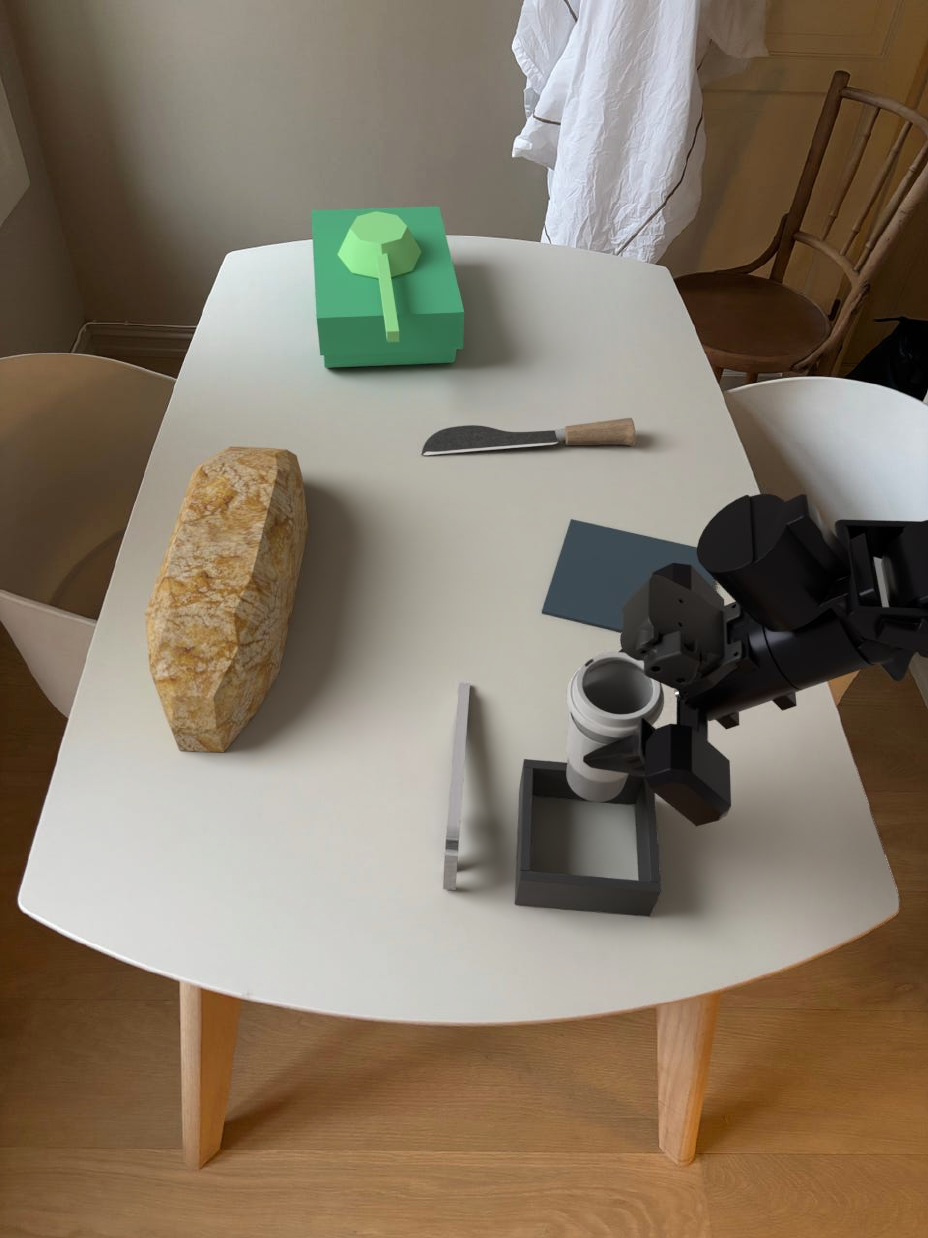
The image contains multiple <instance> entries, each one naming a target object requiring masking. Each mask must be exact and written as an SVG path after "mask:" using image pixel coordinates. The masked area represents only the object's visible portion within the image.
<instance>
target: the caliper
mask: <svg viewBox="0 0 928 1238" xmlns="http://www.w3.org/2000/svg"><path fill="white" fill-rule="evenodd" d="M470 685H471V683H469V682H459V684H458V694H457V705H456V717H455V727H454V728H455V729H454V740H453V741H454V742H453V754H452V765H451V777H450V788H449V799H448V811H447V825H446V832H445V833H446V835H445V845H444V846H445V847H444V859H443V860H444V861H443V862H444V863H443V881H442V889H443V890H450V891H451V890H452V891H456V890H457V889H456V887H457V873H458V859H459V846H460V845H459V844H460V831H461V816H462V801H463V789H464V788H463V786H464V776H465V775H464V774H465V761H466V760H465V758H466V747H467V731H468V717H469V704H470V703H469V702H470V691H471V689H470V688H471V686H470Z"/></svg>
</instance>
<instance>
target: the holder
mask: <svg viewBox="0 0 928 1238" xmlns="http://www.w3.org/2000/svg"><path fill="white" fill-rule="evenodd" d="M566 771H567V761H566V762H564V761H555V760H554V761H553V760H542V759H528V758H524V759H523V761H522V768H521V776H520V781H519V788H518V810H517V811H518V813H517V832H516V833H517V834H516V836H517V837H516V856H515V857H516V859H515V860H516V861H515V884H514V905H515V906H524V907H534V908H547V909H556V910H557V909H558V910H570V911H579V912H580V911H581V912H591V913H604V914H613V915H614V914H615V915H625V916H637V917H651V916H652V914H653V912H654V909H655V908H656V906H657V905H656V904H657V903H658V901H659V898H660V895H661V893H662V883H661V882H662V879H661V864H660V863H661V862H660V851H659V850H660V849H659V848H660V847H659V836H658V820H657V806H656V805H657V804H656V794H655V793H654V792H653V791H652V790H651V789H650V788H649V786H648V783H647V781H646V779H645V776H640V775H634V774H629V775H628V777H627V780H626V782H625V784H624V787H623V789H622V791H621V792H620V793H619V794H618V795H617V796H616V797H615V798H613V799H611V800H608V801H604V802H603V803H605V804H617V805H618V804H619V805H628V806H629V805H630V806H634V823H635V839H636V840H635V841H636V854H637V855H636V859H637V860H636V861H637V877H638V878H637V879H625V878H624V879H623V878H615V877H614V878H613V877H603V876H602V877H601V876H592V875H591V876H590V875H580V874H579V875H577V874H566V873H556V872H544V871H531V861H532V860H531V859H532V857H531V855H532V830H533V829H532V827H533V825H532V824H533V823H532V822H533V797H534V798H535V797H537V798H549V799H559V800H560V799H561V800H570V801H583V802H590V801H589V800H586V799H584V798H582V797H580V796H579V795H577V794H576V793H575V792H574V791H573V790H572V789H571V787H570V786H569V783H568V781H567V776H566ZM592 802H594V801H592Z"/></svg>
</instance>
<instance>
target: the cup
mask: <svg viewBox="0 0 928 1238" xmlns="http://www.w3.org/2000/svg"><path fill="white" fill-rule="evenodd" d="M566 702H567V707H568V710H569V717H568V726H567V727H568V729H567V740H566V755H567V761H566V763H567V771H566V776H567V781H568V783H569V786H570V787H571V789H572V790H573V791H574V792H575V793H576V794H577V795H579V796H580V797H582V798H584V799H586V800H589V801H588V802H593V801H594V802H595V803H596V802H597V803H604V801H608V800H611V799H613V798H615V797H616V796H617V795H618V794H619V793H620V792H621V791H622V789H623V787H624V784H625V782H626V780H627V777H628V775H629V774H628V773H621V772H615V771H608V770H601V769H595V768H591V767H589V766H588V765H586V764H585V763H584V762H583V756H585V755H586V754H588V753H590V752H592V751H594V750H596V749H598V748H600V747H603V746H605V745H608V744H611V743H613V742H616V741H618V740H621V739H623V738H626V737H629V736H631V735H634V734H635V733H636V731H637V728H638V725H639V722H640V719H641V718H644V719H645V720H646V721H648V722H649V723H650V724H651V725H652V726H654V725H655V723H657V721H658V720H659V719H660V718H661V715H662V713H663V710H664V707H665V692H664V688H663V685H662V683H660V682H658V681H656V680H653V679H651V678H649V677H647V676H646V675H645V674H644V662H643V661H637V660H635V659H633V658H631V657H630V656H628V655H627V654H626V653H622V652H619V651H610V652H607V651H606V652H601V653H598V654H596V655H594V656H592V657H590V658H589V659H588V660H586V661H585V662H584V663H583V664H582V665H581V666H580V667H579V668H578V669H577V670H576V671H575V673H573V675H572V677H571V678H570V680H569V682H568V685H567V689H566Z"/></svg>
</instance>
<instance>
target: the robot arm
mask: <svg viewBox="0 0 928 1238" xmlns="http://www.w3.org/2000/svg"><path fill="white" fill-rule="evenodd" d="M833 526H834V532H833V531H832V530H831V528H830V527H829V526H828V525H827V523H826V522H825V521H824V520H823V518H822V517H821V515H820V511H819V510H818V507H817V506H816V504H815V503H814V502H813V500H812V499H811V498H810V497H809V496H808V494H804V493H800V494H798V495H796V496H794V497H792V498H790V499H788V500H786V501H785V500H784V499H783V498H781V497H780V496H778V495H775V494H771V493H759V494H754V495H749V494H745V495H743V496H740V497H738V498H736V499H734V500H733V501H732V502H729V503H728V504H727V505H725V506H724V507H723V508H722V509H721V510H719V511H717V513H716V514H715V515H714V516H713V517H712V518H711V519H710V520H709V521H708V523H707V525H705V527H704V528H703V530H702V532H701V534H700V536H699V538H698V542H697V546H696V547H697V558H698V561H699V563H700V564H701V565H702V566H703V567H704V569H705V570H706V571H707V572H708V573H709V574H710V575H711V576H712V577H713V578H714V581H715V582H717V584H719V586H720V587H721V588H722V589H723V590H724V591H725V592H726V593H727V594H728V596H730V597H731V598H732V599H733V600H734V601H733V602H731V603H728V604H726V605H725V599H724V597H723V596H722V595H721V594H720V593H719V592H718V591H717V590H716V589H715V587H714V586H713V587H712V586H711V585H710V584H709V583H708V582H707V581H706V580H705V579H704V578H703V577H702V576H701V575H700V574H699V573H698V571H697V570H696V569H695V568H694V567H693V566H692V565H688V564H680V563H671V564H669V565H667V566H665V567H663V568H661V569H659V570H657V571H655V572H652V576H651V577H650V578H649V579H648V580H647V581H646V582H645V583H644V584H643V585H642V586H641V587H640V588H639V589H638V590H637V591H636V592H635V593H634V594H633V595H632V596H631V597H630V598H629V599H628V600H627V601H626V602H625V603H624V604H623V606H622V613H623V629H622V632H620V633H621V634H620V637H619V644H620V647H621V649H620V650H619V651H618V652H622V653H626V654H627V655H628V656H630V657H631V658H633V659H635V660H637V661H643V662H644V674H645V675H646V676H647V677H649V678H651V679H653V680H656V681H658V682H660V683H661V685H662V684H663V685H665V686H666V687H669V688H671V689H674V696H675V698H676V722H675V723H669V724H668V723H667V724H665V725H662V726H660V727H657V728H656V727H654V725H651V724H650V723H649V722H648V721H646V720H645V719H644V718H641V719H640V722H639V725H638V728H637V731H636V733H635V734H634V735H631V736H629V737H626V738H623V739H621V740H618V741H616V742H613V743H611V744H608V745H605V746H603V747H600V748H598V749H596V750H594V751H592V752H590V753H588V754H586V755H585V756H583V762H584V763H585V764H586V765H588V766H589V767H591V768H595V769H601V770H608V771H615V772H621V773H628V774H634V775H640V776H645V779H646V781H647V783H648V786H649V788H650V789H651V790H652V791H653V792H654V793H655V795H656V796H658V797H659V798H660V799H661V800H662V801H664V802H665V803H667V804H668V805H669V806H670V807H671V808H673V809H674V810H675V811H676V812H678V813H679V814H680V815H681V816H682V817H684V818H685V819H686V820H687V821H689V822H690V823H691V824H693V825H694V826H695V827H700V826H705V825H707V824H711V823H715V822H719V821H721V820H722V819H724V818H726V817H727V815H728V813H729V811H730V809H731V808H732V791H731V761H730V759H729V758H728V757H726V756H725V754H723V753H722V752H721V751H720V750H719V749H718V748H716V747H715V746H714V745H713V744H712V743H711V742H710V741H709V722H712V721H716V722H717V723H718V724H719V725H720V726H722V728H724V730H730V729H732V728H736V727H738V726H740V712H742V711H746V710H749V709H752V708H755V707H757V706H761V705H763V704H766V703H769V702H772V703H774V704H775V705H776V706H777V707H778V708H779V709H780V710H781V712H782V711H786V710H789V709H792V708H795V707H797V705H798V704H797V695H796V694H797V693H799V692H801V691H803V690H806V689H810V688H812V687H815V686H819V685H821V684H824V683H826V682H829V681H833V680H835V679H838V678H841V677H844V676H846V675H849V674H852V673H855V672H859V671H861V670H864V669H867V668H870V667H873V666H876V665H879V666H880V667H881V669H882V670H883V671H884V672H885V673H886V674H887V676H888V677H889V678H890V679H891V680H892V681H894V682H902V681H904V680H905V678H906V675H907V673H908V670H909V668H910V664H911V661H912V660H913V658H914V656H915V655H916V654H918V655H919V657H921V658H925V659H928V519H925V520H922V521H921V520H879V519H876V520H875V519H844V518H843V519H838V520H836V521H835V522H834V524H833ZM875 558H876V559H879V560H881V561H880V566H881V572H882V577H883V582H884V588H885V593H886V594H885V595H886V599H887V604H888V606H883V601H882V596H881V589H880V584H879V579H878V573H877V567H876V561H875Z"/></svg>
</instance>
